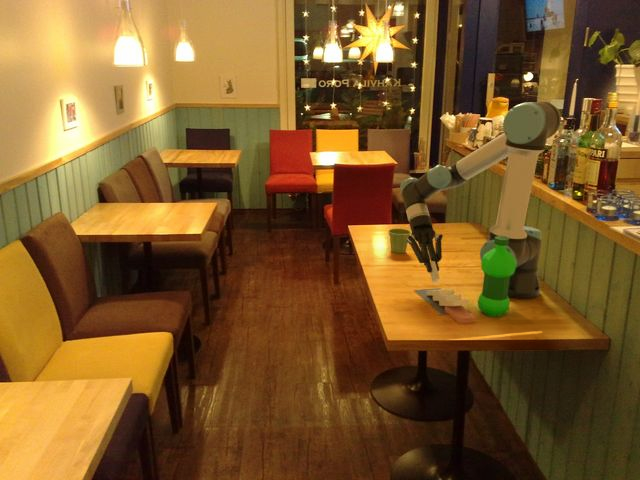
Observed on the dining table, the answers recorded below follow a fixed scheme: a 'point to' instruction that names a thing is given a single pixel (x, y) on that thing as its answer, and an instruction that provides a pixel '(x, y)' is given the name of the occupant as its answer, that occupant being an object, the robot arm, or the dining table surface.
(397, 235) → the plant pot
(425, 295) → the mat
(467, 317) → the domino
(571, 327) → the dining table surface
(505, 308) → the plastic bottle
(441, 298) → the domino
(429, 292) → the domino
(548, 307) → the dining table surface
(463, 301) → the domino
